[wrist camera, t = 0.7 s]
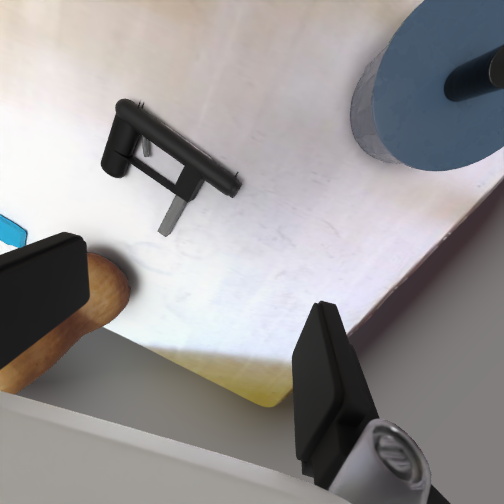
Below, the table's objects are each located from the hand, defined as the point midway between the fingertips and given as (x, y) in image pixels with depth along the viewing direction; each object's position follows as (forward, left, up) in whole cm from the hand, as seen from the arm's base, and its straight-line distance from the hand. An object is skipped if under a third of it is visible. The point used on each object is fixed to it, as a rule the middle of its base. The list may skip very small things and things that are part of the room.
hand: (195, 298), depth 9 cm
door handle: (-1, -14, -29) cm, 33 cm away
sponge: (+8, -50, -29) cm, 59 cm away
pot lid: (-11, +18, -20) cm, 29 cm away
